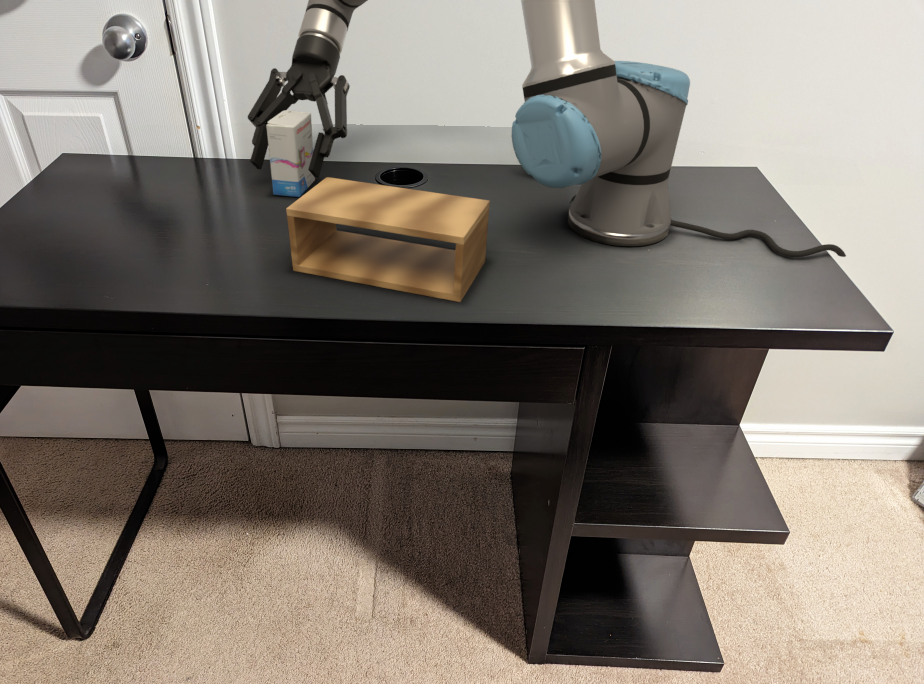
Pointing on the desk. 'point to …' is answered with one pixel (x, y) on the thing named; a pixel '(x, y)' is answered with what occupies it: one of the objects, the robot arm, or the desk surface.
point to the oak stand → (385, 258)
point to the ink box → (290, 152)
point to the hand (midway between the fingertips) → (284, 169)
